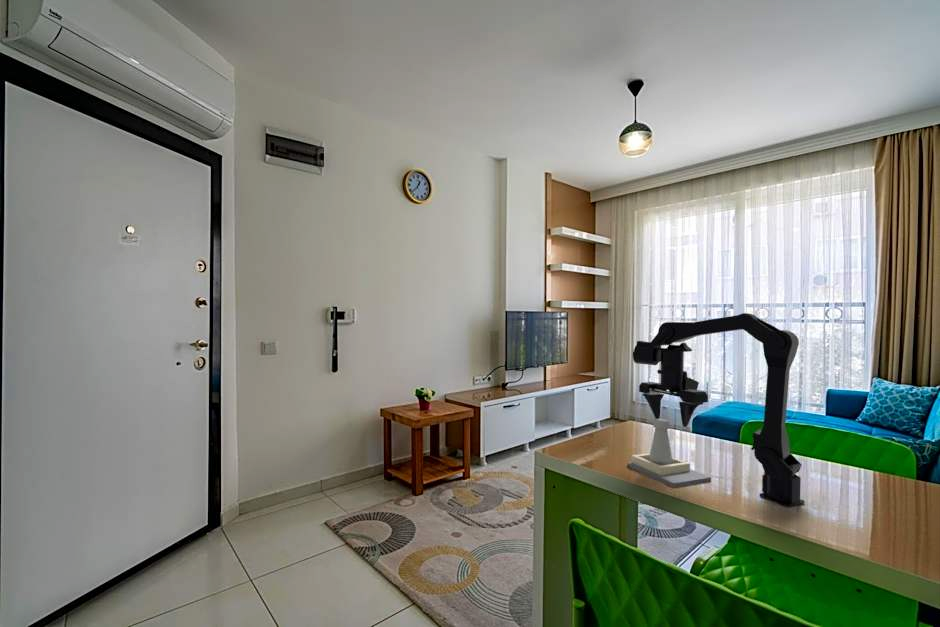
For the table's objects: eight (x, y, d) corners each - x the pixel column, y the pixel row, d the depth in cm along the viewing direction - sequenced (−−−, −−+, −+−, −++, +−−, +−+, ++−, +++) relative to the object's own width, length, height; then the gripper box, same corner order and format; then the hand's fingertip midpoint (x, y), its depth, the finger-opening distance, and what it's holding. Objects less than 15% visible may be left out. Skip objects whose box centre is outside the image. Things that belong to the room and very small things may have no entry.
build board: (710, 481, 111) (711, 469, 111) (673, 487, 106) (674, 475, 106) (661, 461, 126) (661, 451, 126) (627, 466, 121) (627, 455, 121)
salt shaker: (675, 470, 115) (676, 422, 115) (654, 470, 115) (655, 421, 115) (666, 463, 121) (667, 417, 121) (645, 462, 121) (646, 416, 121)
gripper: (722, 370, 115) (721, 428, 114) (665, 363, 132) (664, 414, 131) (693, 371, 110) (692, 432, 110) (638, 363, 127) (637, 416, 127)
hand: (670, 422), depth 120 cm, fingers open, 9 cm apart
